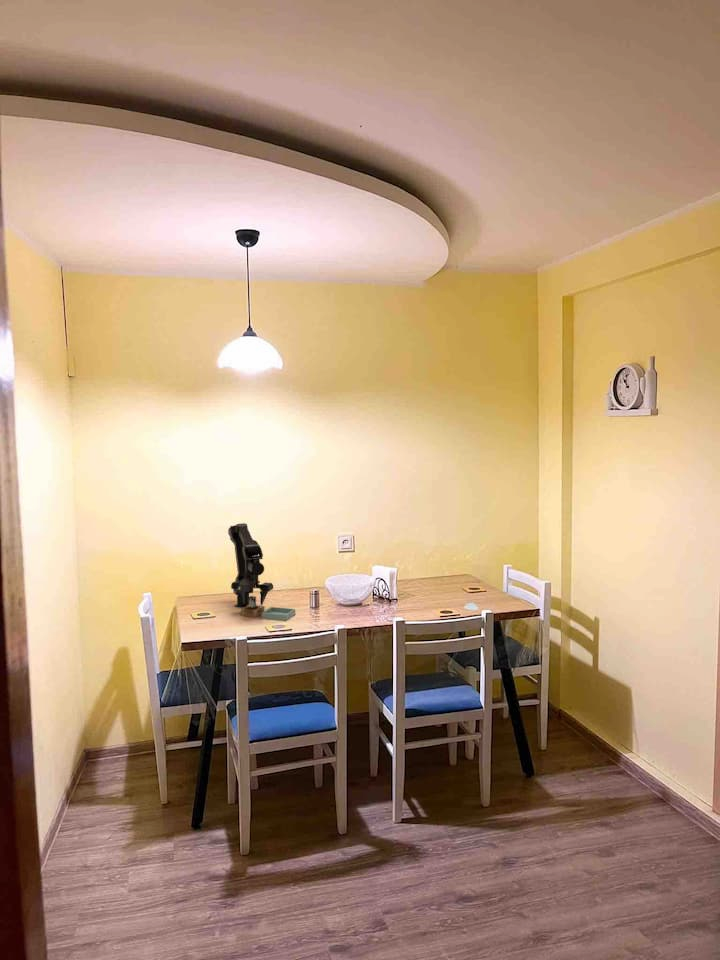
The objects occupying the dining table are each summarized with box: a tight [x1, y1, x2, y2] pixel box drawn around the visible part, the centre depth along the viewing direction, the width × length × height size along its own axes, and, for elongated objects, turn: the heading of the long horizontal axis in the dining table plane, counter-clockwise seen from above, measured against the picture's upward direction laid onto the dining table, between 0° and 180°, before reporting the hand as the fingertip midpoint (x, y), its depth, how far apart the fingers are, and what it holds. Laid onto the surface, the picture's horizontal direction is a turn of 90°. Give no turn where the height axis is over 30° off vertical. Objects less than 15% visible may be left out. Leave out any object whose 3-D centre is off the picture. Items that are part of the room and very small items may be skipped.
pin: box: [249, 595, 257, 609], centre depth 301 cm, size 3×3×8 cm
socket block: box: [240, 604, 266, 618], centre depth 301 cm, size 8×8×3 cm
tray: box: [261, 606, 296, 622], centre depth 297 cm, size 10×12×3 cm
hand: (252, 604), depth 301 cm, fingers open, 9 cm apart
